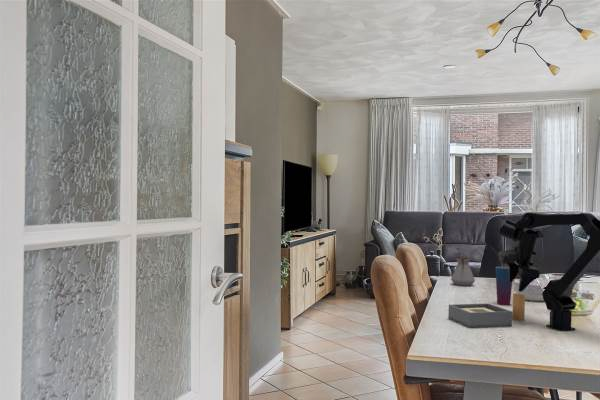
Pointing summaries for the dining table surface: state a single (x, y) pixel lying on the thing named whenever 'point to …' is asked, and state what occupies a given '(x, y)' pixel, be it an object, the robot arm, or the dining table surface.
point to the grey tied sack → (463, 273)
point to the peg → (518, 307)
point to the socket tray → (480, 315)
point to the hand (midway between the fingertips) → (515, 286)
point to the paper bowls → (530, 290)
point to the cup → (503, 286)
